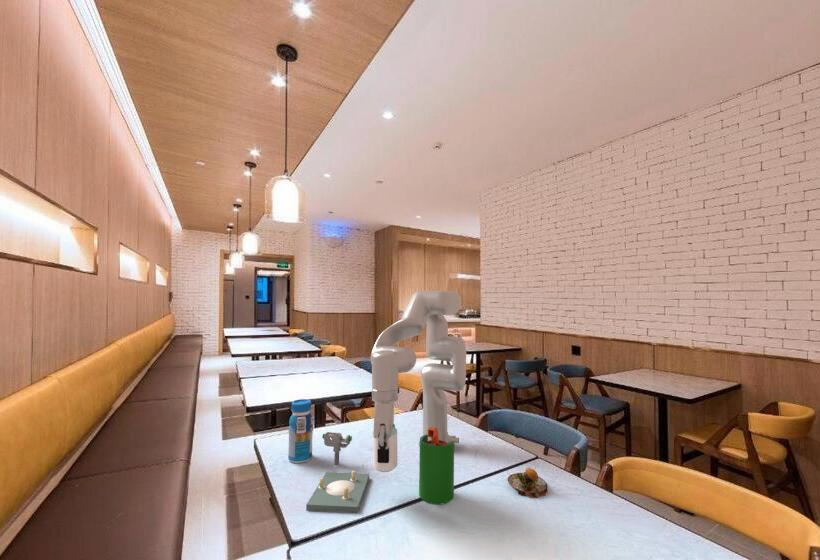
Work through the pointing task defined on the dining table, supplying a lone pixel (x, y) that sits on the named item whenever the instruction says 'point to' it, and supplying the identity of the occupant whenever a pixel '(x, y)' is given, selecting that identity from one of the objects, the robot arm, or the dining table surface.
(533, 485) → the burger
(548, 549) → the dining table surface
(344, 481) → the pin board
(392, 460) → the can
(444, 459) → the motor
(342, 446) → the mechanical component
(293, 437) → the beverage bottle
